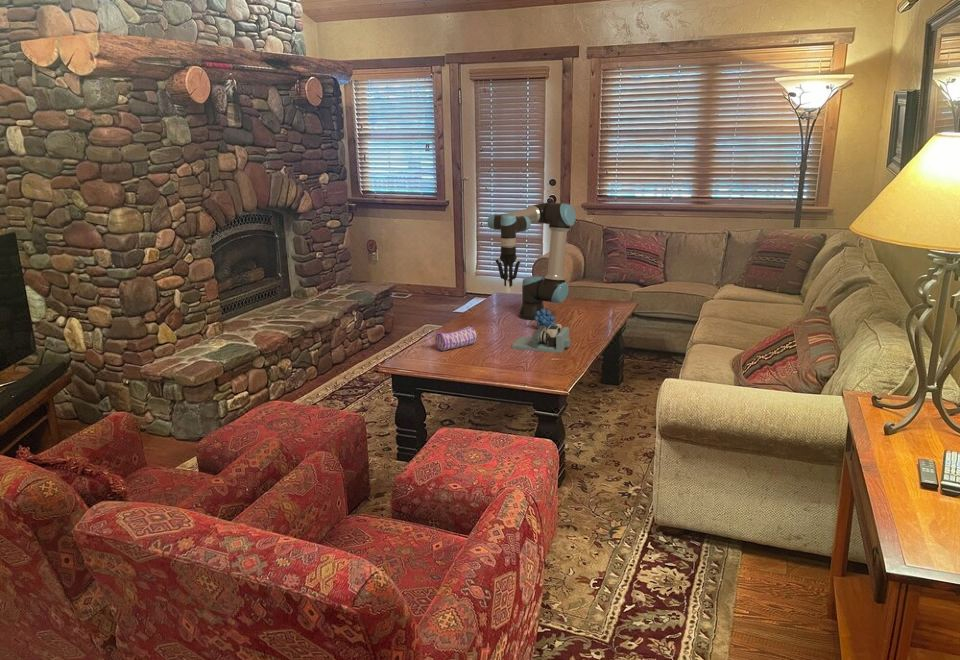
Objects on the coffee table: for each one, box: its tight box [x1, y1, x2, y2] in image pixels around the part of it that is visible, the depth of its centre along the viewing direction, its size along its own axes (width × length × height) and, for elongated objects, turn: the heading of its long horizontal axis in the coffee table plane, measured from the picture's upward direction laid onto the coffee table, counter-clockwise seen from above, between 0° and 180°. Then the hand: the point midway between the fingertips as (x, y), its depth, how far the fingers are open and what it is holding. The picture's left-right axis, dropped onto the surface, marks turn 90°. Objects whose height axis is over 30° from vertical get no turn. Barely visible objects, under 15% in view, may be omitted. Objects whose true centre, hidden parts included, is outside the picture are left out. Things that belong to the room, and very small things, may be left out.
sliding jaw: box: [532, 325, 548, 348], centre depth 351 cm, size 22×3×7 cm, turn 160°
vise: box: [511, 326, 571, 354], centre depth 348 cm, size 16×27×8 cm, turn 70°
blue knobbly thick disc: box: [534, 308, 556, 328], centre depth 373 cm, size 12×7×12 cm, turn 69°
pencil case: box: [434, 325, 478, 352], centre depth 349 cm, size 22×9×9 cm, turn 131°
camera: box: [541, 323, 563, 348], centre depth 347 cm, size 16×9×10 cm, turn 160°
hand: (508, 292), depth 355 cm, fingers closed
